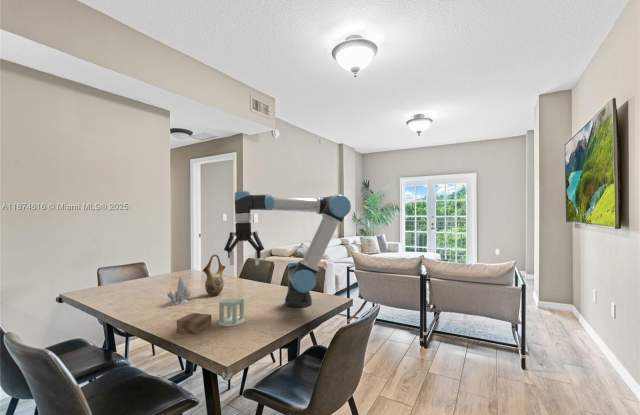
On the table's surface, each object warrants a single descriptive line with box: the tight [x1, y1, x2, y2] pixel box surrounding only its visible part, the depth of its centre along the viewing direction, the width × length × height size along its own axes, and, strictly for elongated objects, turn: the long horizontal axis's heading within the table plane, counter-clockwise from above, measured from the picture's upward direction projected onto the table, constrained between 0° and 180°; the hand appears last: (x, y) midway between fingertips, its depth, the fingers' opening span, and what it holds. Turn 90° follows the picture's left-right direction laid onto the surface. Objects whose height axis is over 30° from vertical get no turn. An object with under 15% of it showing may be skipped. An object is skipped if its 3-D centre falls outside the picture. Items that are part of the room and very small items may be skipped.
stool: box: [218, 297, 245, 324], centre depth 143 cm, size 8×8×9 cm
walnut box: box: [176, 312, 212, 335], centre depth 134 cm, size 10×10×5 cm
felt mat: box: [217, 315, 246, 327], centre depth 143 cm, size 12×12×1 cm
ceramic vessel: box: [202, 253, 227, 297], centre depth 189 cm, size 16×9×25 cm, turn 147°
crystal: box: [167, 275, 191, 306], centre depth 173 cm, size 10×13×15 cm
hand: (244, 265), depth 152 cm, fingers open, 13 cm apart
